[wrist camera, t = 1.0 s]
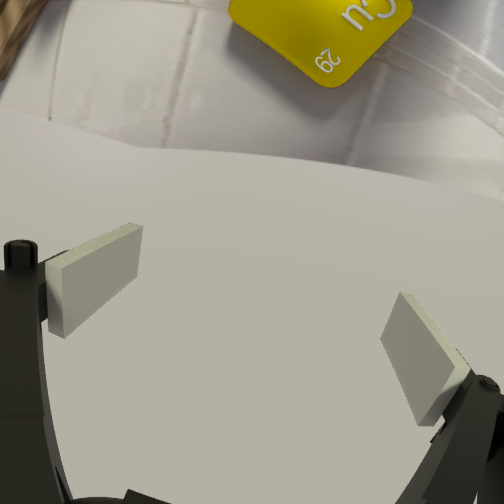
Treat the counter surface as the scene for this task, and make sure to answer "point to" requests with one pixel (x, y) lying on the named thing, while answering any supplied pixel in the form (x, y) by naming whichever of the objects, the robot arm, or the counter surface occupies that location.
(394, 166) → the counter surface
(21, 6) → the u rest
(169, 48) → the counter surface
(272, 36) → the element tile
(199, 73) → the counter surface
